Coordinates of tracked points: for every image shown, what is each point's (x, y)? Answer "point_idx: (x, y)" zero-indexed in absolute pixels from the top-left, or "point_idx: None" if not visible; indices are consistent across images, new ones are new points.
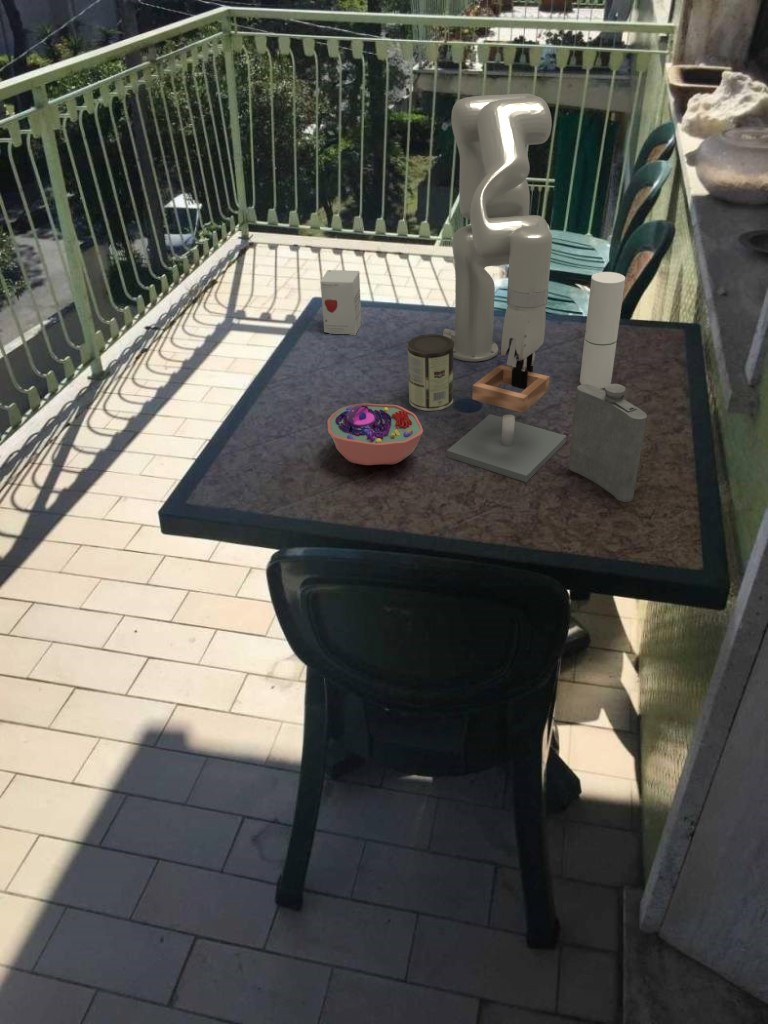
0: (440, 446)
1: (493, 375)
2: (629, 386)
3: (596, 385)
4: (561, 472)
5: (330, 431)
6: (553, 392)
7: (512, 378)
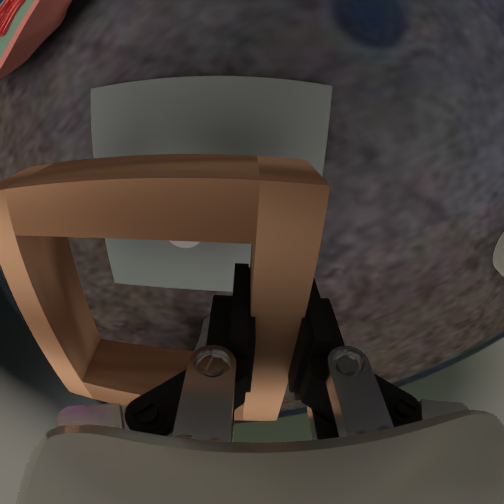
0: (132, 46)
1: (116, 230)
2: (494, 293)
3: (496, 259)
4: (187, 310)
5: None
6: (482, 192)
7: (233, 291)
